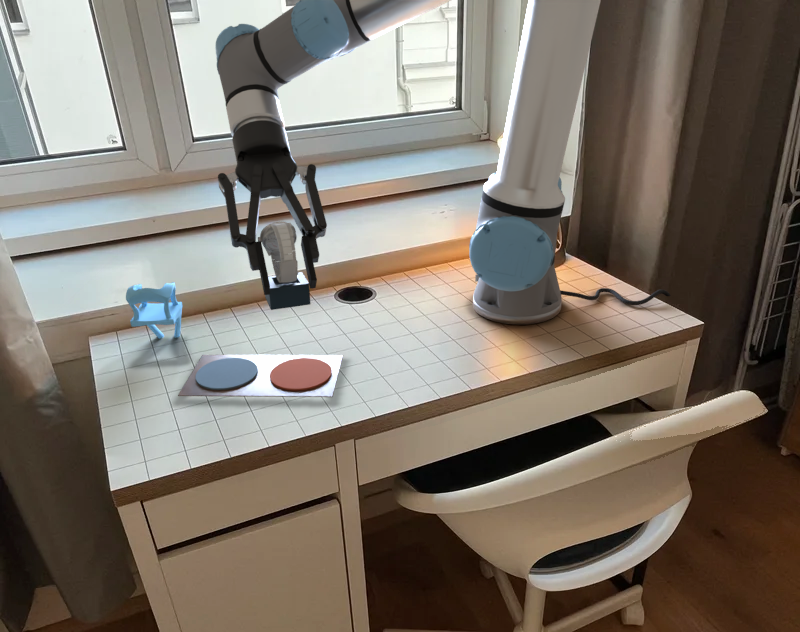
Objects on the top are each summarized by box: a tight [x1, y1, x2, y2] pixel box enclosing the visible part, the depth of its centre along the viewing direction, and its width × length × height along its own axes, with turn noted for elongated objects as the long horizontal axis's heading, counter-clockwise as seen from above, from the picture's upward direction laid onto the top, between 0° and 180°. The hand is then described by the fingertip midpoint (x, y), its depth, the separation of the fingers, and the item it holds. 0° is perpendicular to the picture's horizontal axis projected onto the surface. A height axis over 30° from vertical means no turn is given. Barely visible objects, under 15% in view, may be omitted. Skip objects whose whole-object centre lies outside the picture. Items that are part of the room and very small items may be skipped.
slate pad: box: [195, 358, 258, 390], centre depth 104 cm, size 9×9×1 cm
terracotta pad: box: [270, 358, 332, 391], centre depth 103 cm, size 9×9×1 cm
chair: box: [125, 281, 184, 340], centre depth 110 cm, size 8×8×12 cm
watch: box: [257, 221, 311, 311], centre depth 96 cm, size 6×8×11 cm
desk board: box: [177, 354, 344, 398], centre depth 104 cm, size 22×12×1 cm, turn 87°
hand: (290, 287), depth 94 cm, fingers closed on watch, 5 cm apart
